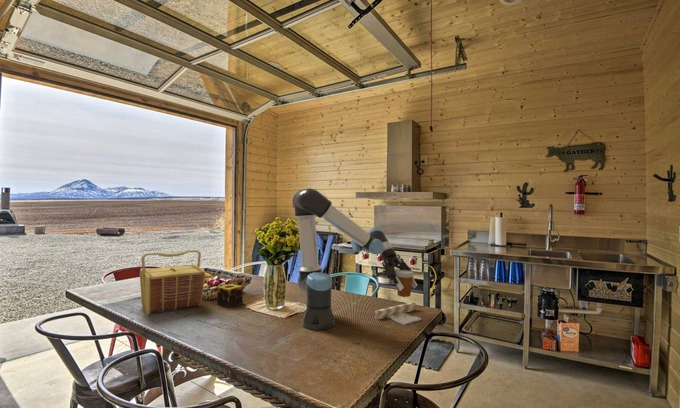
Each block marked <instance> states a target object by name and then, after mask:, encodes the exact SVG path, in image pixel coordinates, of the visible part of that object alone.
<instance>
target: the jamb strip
mask: <svg viewBox="0 0 680 408" xmlns="http://www.w3.org/2000/svg"><path fill="white" fill-rule="evenodd" d="M413 311H416V302H415V301H412V302H407V303H401V304H399V305H398V304H397V305H394V306H389V307H385V308H381V309H377V310H374V319H375V320H383V319H385V318H387V316H390V315H394V314H398V313H402V312H404V313H409V312H413Z"/></svg>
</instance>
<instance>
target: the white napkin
mask: <svg viewBox="0 0 680 408" xmlns="http://www.w3.org/2000/svg"><path fill="white" fill-rule="evenodd" d="M386 318H387V319H389V320H391V321H393V322H396V323H399V324H401V325H404V326H407V325H409V324H412V323H416V322H421V321H422V318H420V317H418V316H415V315H412V314H410V313H408V312H406V313H404V312H402V313H398V314H394V315H390V316H387V317H386Z"/></svg>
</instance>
